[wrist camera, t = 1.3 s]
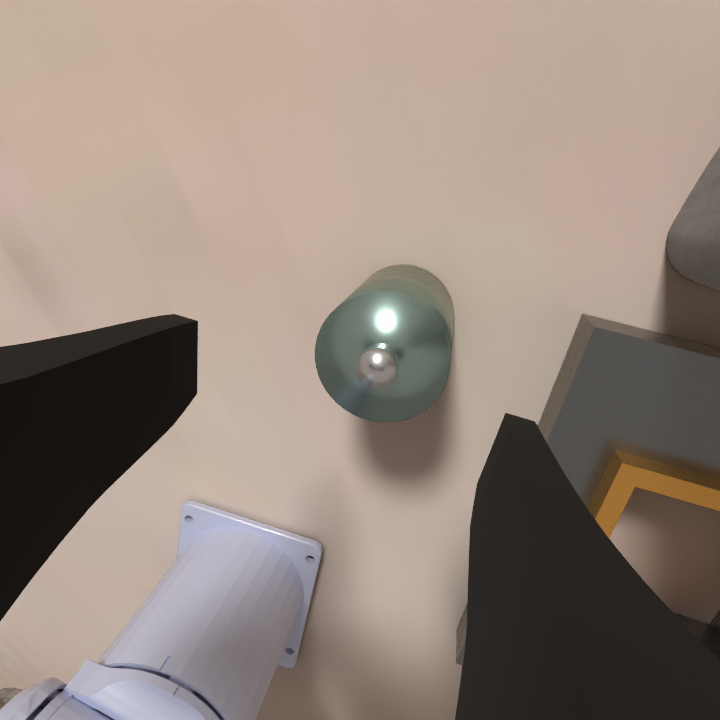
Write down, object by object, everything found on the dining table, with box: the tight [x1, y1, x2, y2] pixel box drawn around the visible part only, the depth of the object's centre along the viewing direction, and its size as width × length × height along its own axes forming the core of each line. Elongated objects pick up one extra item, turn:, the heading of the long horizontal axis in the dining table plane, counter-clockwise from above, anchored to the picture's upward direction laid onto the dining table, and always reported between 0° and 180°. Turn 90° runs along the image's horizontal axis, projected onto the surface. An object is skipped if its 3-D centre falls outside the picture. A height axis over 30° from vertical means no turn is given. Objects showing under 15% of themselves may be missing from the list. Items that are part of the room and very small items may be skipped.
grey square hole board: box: [456, 314, 720, 665], centre depth 21 cm, size 18×17×3 cm
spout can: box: [315, 265, 454, 422], centre depth 18 cm, size 4×4×7 cm
